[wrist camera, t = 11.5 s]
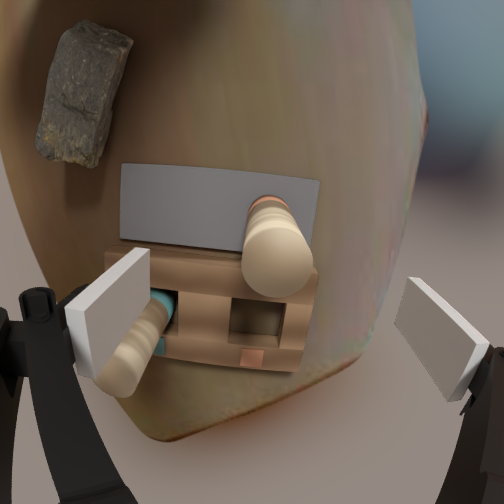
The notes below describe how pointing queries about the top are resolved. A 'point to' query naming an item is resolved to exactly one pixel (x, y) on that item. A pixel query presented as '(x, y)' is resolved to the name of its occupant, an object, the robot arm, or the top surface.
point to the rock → (81, 93)
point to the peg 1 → (137, 346)
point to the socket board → (222, 312)
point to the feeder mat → (204, 203)
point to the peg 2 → (274, 249)
